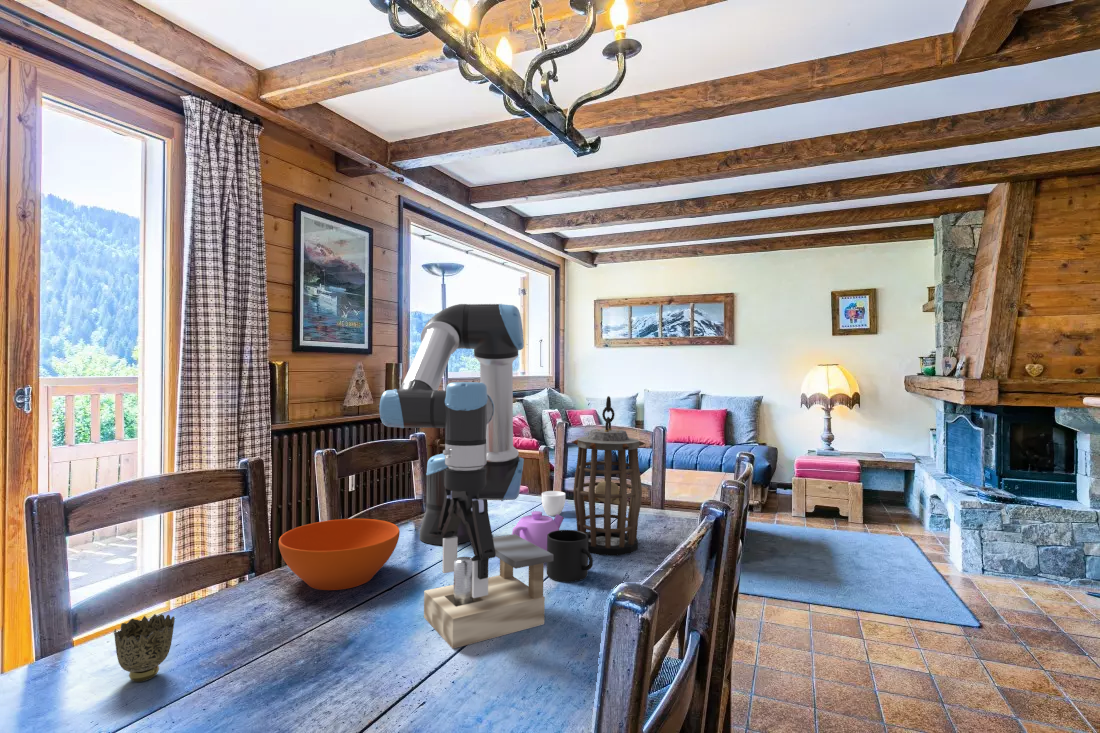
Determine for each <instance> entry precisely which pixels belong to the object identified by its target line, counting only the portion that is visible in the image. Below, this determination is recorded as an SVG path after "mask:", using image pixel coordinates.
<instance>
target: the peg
mask: <svg viewBox="0 0 1100 733" xmlns="http://www.w3.org/2000/svg"><path fill="white" fill-rule="evenodd" d="M472 558H473V557H471V556H459V557H458V556H457V558H456V559H454V572H453V585H454V603H453V605H455V606H456V607H457V606H461V605H465V604H470V603H473V599H474V598H473V597H472V560H471V559H472Z"/></svg>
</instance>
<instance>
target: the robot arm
mask: <svg viewBox="0 0 1100 733" xmlns="http://www.w3.org/2000/svg"><path fill="white" fill-rule="evenodd" d="M523 330H524V329H523V322H522V317H521V313H520V310H519V308H518V307H517V306H515V305H514V304H503V303H473V304H471V303H468V304H467V303H459V304H455V305H452V306H451V305H450V306H448V307H446V308H444V309H443V310H441V311H439V312H437V313H436V314H435V315H433V316H432V317H431V318H430V319H429V320H428V321H427V322H426V323H425V325H424V327H423V329H422V330H421V334H420V341H421V343H420V345H419V347H418V349H417V351H416V354H415V356H414V358H413V359H412V362H411V364H410V367H409V368H408V371H407V373H406V375H405V377H404V378H403V381H402V384H401V385H400V387H399V389H397V388H394V389H387V390H385V391H383V393H382V394H381V396H380V401H379V418H380V420H381V423H382V424H383V425H384V426H385V427H389V428H401V429H404V428H405V429H409V428H410V429H416V428H417V429H419V428H421V429H425V428H427V429H429V428H431V429H433V428H434V429H444V430H445V444H444V445H445V447H444V448H445V449H443V450H442V453H440V454H439V453H438V454H435V455H433V456H431V457H430V458H429V459H428V460H427V464H426V473H425V475H426V503H425V504H426V508H425V513H424V516H423V519H422V522H421V524H420V528H419V537H418V538H419V540H420V541H421V542H423V543H426V544H430V545H435V546H436V545H437V546H442V570H441V571H442V573H443V574H447V573H454V559H456V558H458V545H459V544H464V543H467V542H469V541H470V544H471V547H472V551H473V554H474V555H473V556H472V557H471V558H472V559H471V560H472V597H473V598H477V597H482V596H486V595H488V578H489V562H490V561H489V560H490V559H492V558H493V559H494V558H496V553H495V548H494V542H493V538H494V537H493V532H492V527H491V522H490V516H489V508H488V507H489V503H488V501H501V502H503V501H515V500H517V499H518V497H519V496H520V492H521V491H520V490H521V483H522V477H523V471H524V461H525V458H523V457H520V456H519V450H518V449H517V448H516V447H515V446H514V425H513V424H514V416H513V415H514V411H513V410H514V409H513V408H514V403H513V402H514V396H513V393H514V390H513V389H514V387H513V386H514V384H513V383H514V382H513V381H514V380H513V378H514V377H513V376H514V375H513V367H514V366H513V362H514V361H515V360H516V359H517V358H518V357H519V351H521V350H523V349H524V347H525V346H524V345H525V344H524V331H523ZM459 349H465V350H473V356H474V358H475V359H476V360H477V361H478V362H479V366H480V367H479V373H480V375H479V377H480V381H479V382H477V381H475V382H474V381H462V382H460V381H459V382H458V381H457V382H456V381H455V382H449V383H448V384H447V386H446V388H445V390H439V388H440V385H441V382H442V380H443V377H444V374H445V372H446V369H447V366H448V364H449V361H450V358H451V356H452V354H454V353H455V352H456V351H457V350H459Z"/></svg>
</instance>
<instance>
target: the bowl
mask: <svg viewBox="0 0 1100 733" xmlns="http://www.w3.org/2000/svg"><path fill="white" fill-rule="evenodd" d="M400 535H401V533H400V528H399V526H397V525H396V524H394V523H392V522H389V521H387V520H380V519H372V518H341V519H330V520H322V521H318V522H317V521H316V522H312V523H308V524H307V523H306V524H303V525H301V526H297V527H294V528H292V529H290V530H288V531H286V532H284V533H283V534H281V536H280V537H279V538H278V539H279V540H278V548H279V552H280V554H281V557H282V559H283V560H284V563H286V565H287V567H288V568H289V569H290V570H291V572H293V573H294V575H296V576H297V577H298V578H299V579H301V580H302V581H303V582H304V583H305V584H307V586H309V587H310V588H312V589H315V590H321V591H338V590H341V591H342V590H346V589H351V588H355V587H359V586H361V585H364V584H366V583H368V582H369V581H371V579H373V577H374V576H375V575H376V574H377V573H378V572H379V571H380V570H382V569H381V568H383V567H384V565H386V563H387V562H388V561H389V559H390V558H391V556H392V555H393V552H394V551H395V549H396V548H397V545H398V543H399V542H398V541H399V538H400Z"/></svg>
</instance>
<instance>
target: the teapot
mask: <svg viewBox="0 0 1100 733" xmlns="http://www.w3.org/2000/svg"><path fill="white" fill-rule="evenodd" d="M563 521H564V516H562V515H558V514H556V516H554V518H552V516H549V515H545V514H544V515H543V512H542V511H540V510H539V511H538V510H535V511H532V512H531V515H525V516H522V517H521V518H520V519H519V520H518V522H517V523H516V525H515V526H514V527H513V528H512V533H511V535H512V534H515V535H517V536H519V537H521V538H523V539H525V540H527V541H529V542H531V543H532V544H534V545H536V546H538V547H540V548H542V549H544V550H546V551H547V535H548V534H549V533H550V532H553V531H557V530H560V527H561V526H562V523H563Z"/></svg>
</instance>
